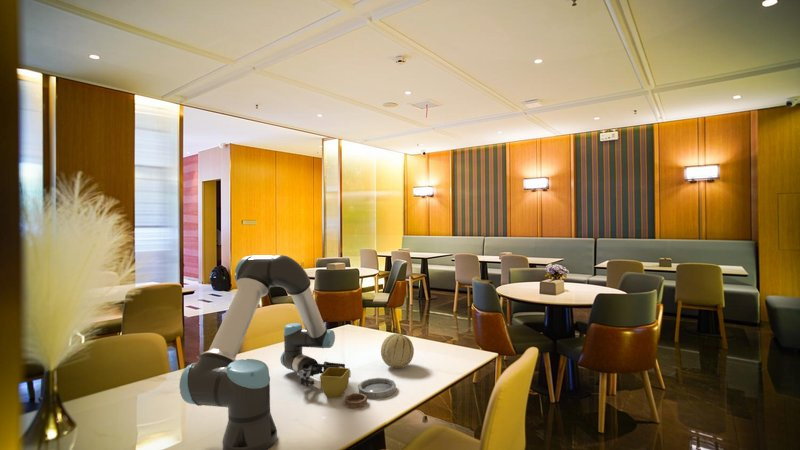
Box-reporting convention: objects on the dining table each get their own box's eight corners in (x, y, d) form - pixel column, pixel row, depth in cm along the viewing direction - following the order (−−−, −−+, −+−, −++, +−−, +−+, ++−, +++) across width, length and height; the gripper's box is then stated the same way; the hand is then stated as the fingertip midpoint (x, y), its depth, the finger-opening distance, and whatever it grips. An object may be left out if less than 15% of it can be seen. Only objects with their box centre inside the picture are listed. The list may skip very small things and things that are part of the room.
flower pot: (342, 401, 143) (342, 376, 143) (320, 400, 145) (319, 375, 145) (350, 391, 151) (350, 368, 151) (329, 390, 153) (328, 367, 153)
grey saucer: (375, 402, 142) (374, 396, 142) (351, 391, 152) (351, 385, 152) (402, 389, 151) (402, 384, 151) (378, 380, 162) (378, 375, 162)
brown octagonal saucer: (353, 410, 135) (353, 404, 135) (340, 404, 141) (340, 398, 141) (371, 403, 141) (370, 397, 141) (357, 397, 146) (357, 391, 146)
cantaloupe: (377, 372, 170) (376, 337, 170) (386, 360, 185) (385, 328, 185) (410, 374, 167) (409, 338, 167) (417, 362, 181) (416, 329, 181)
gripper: (330, 366, 173) (361, 379, 158) (277, 383, 155) (306, 400, 140) (330, 349, 173) (360, 360, 158) (277, 364, 155) (305, 378, 140)
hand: (335, 379), depth 149 cm, fingers open, 13 cm apart
